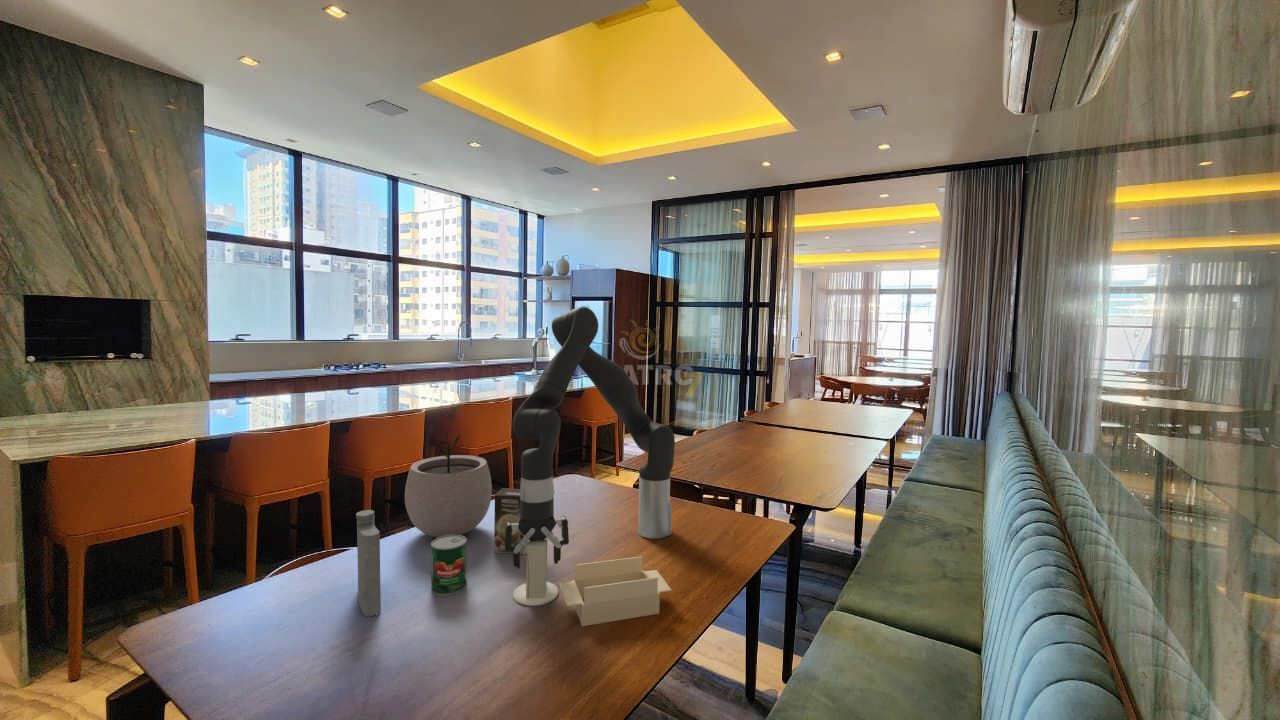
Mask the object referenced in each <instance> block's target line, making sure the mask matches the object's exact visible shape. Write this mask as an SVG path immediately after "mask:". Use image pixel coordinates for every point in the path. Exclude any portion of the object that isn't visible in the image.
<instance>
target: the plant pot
mask: <svg viewBox="0 0 1280 720" xmlns="http://www.w3.org/2000/svg"><path fill="white" fill-rule="evenodd" d="M460 437H461V434H459V435H458V436H457V437H456V438H455V440H454V444H453V445H451V446H450V444H451V443H450V441H449V438H448V434H447V432H445V438H446V440H447V441H440V443H441V444H446V445H447V448H446V449H447V450H446V451H447V454H446V453H445V452H444V451H443V450H442V449H441V448H439V449H438V450H439V452H440V453H443V455H440V456H434V457H433V456H432V457H429V458H424V459H421V460H418V461H416V462H414V463H412V464H411V465H410V467H409V471H408V474H407V479H406V482H405V489H404V504H405V509H406V513H407V514H408V518H409V519H410V522H411V523H412V525H413V526H414V528H416V529H417V530H418V531H420V532H421V533H422V534H425V535H427V536H429V537H433V538H439V537H442V536H446V535H462V536H464V535H465V534H467V533H469V532H471V531H472V530H473V529H475V528H476V527H477V526H478V525H479V524H480V523H481V522H482V521H483V519H484V518H485V517H486V516H487V513H488V511H489V508H490V505H491V501H492V490H493V485H492V477H491V472H490V469H489V465H488V461H487V459H485V458H483V457H480V456H476V455H467V454H464V455H463V454H456V455H455V454H451V453H450V450H452V449H453V448H455V447H456V444H457V442H458V441H459V439H460Z"/></svg>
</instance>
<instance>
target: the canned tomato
mask: <svg viewBox="0 0 1280 720" xmlns="http://www.w3.org/2000/svg"><path fill="white" fill-rule="evenodd" d="M467 541H468V539H467V537H466V536H464V535H446V536H442V537H439V538H437V537H435V539H434V540H432V541H431V542H430V546H431V547H430V549H431V550H430V556H431V557H430V563H431V564H430V566H431V567H430V570H431V571H430V573H431V575H430V577H431V579H430V580H431V581H430V582H431V588H430V591H431V593H432V594H434V595H436V594H437V596H442V595H445V596H452V595H455V593H456V594H457V593H460V592H462V591H464V590H465V589H466V588H467V586H468V582H467V579H468V577H467V575H468V573H467V572H468V570H467V568H468V562H467V561H468V559H467V558H468V556H467V555H468V553H467V552H468V550H467Z"/></svg>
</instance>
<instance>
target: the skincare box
mask: <svg viewBox="0 0 1280 720" xmlns="http://www.w3.org/2000/svg"><path fill="white" fill-rule="evenodd" d="M547 567H548V538H546V539H544V540H536V541H530V540H528V543H527V553H526V571H525V572H526V574H525V575H526V578H525V579H526V580H525V583H526V598H541V597H545V593H546V582H548V581H547V576H548V575H547V573H548V568H547Z"/></svg>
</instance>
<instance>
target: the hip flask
mask: <svg viewBox="0 0 1280 720" xmlns="http://www.w3.org/2000/svg"><path fill="white" fill-rule="evenodd" d="M355 518H356V534H357V536H356V538H357V539H356V541H357V542H356V543H357V544H356V545H357V583H358V584H357V596H358V598H357V599H358V605H359V609H360V608H361V609H360V611H361V610H362V611H361V613H362V612H363V613H362V614H364V615H365V616H373V617H375V616H374V615H376V614H378V615H379V614H381V612H382V611H381V610H382V609H381V608H382V607H381V605H382V604H381V595H382V594H381V547H380V546H381V543H380V542H381V540H380V539H381V537H380V535H381V534H380V533H381V531H380V530H379V529H378V528H377V527H376V524H375V523H376V522H375V520H376V519H375V511H374V510H373V509H365V510H360V511H358V512H356V513H355ZM364 615H363V616H364ZM365 616H364V617H365ZM376 616H377V615H376Z"/></svg>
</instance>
